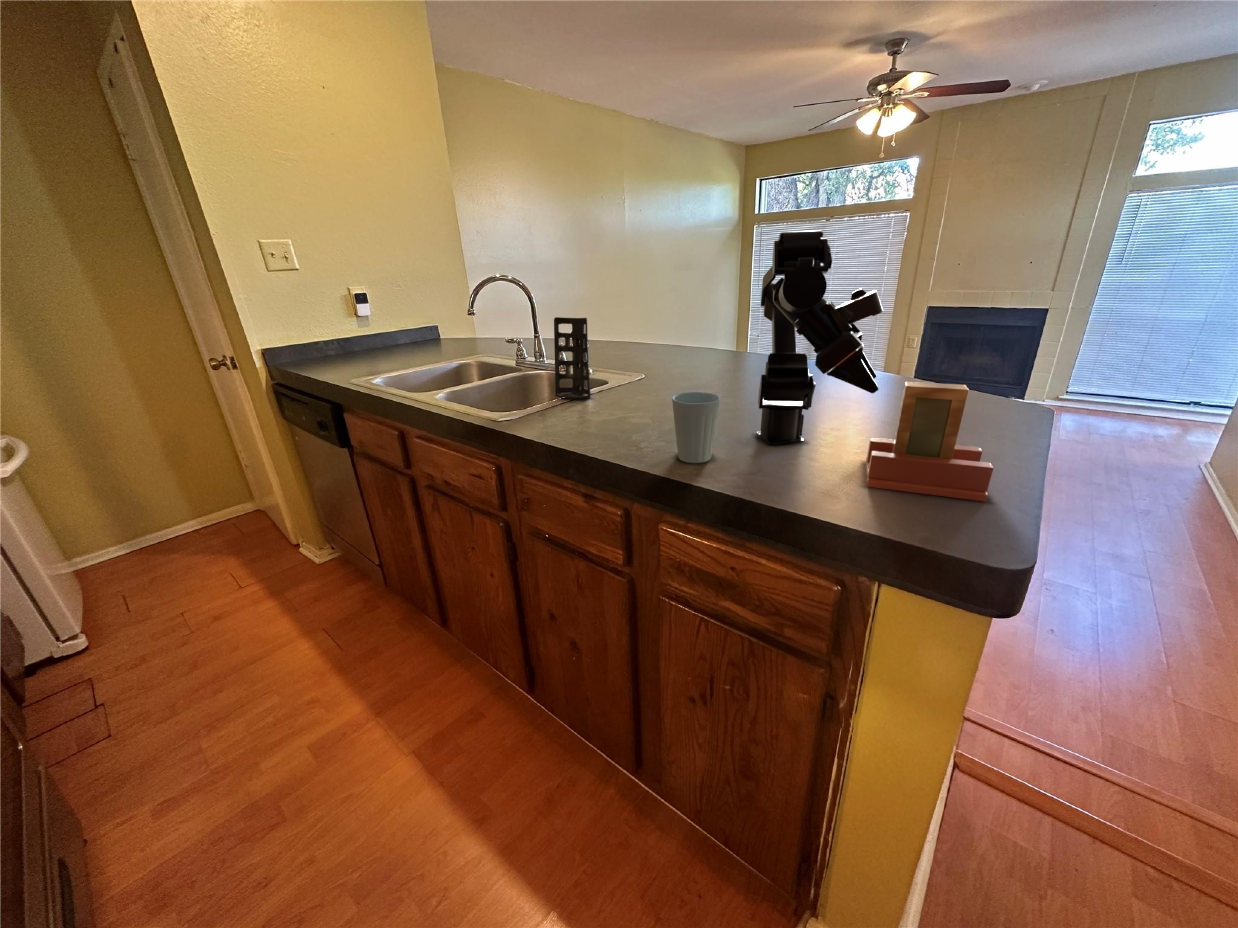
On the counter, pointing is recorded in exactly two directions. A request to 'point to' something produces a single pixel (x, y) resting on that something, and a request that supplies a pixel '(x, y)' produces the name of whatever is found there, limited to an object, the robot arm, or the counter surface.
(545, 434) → the counter surface
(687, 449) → the cup
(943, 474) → the slot stand
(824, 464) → the counter surface
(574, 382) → the holder
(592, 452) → the counter surface
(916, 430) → the frame
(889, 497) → the counter surface
